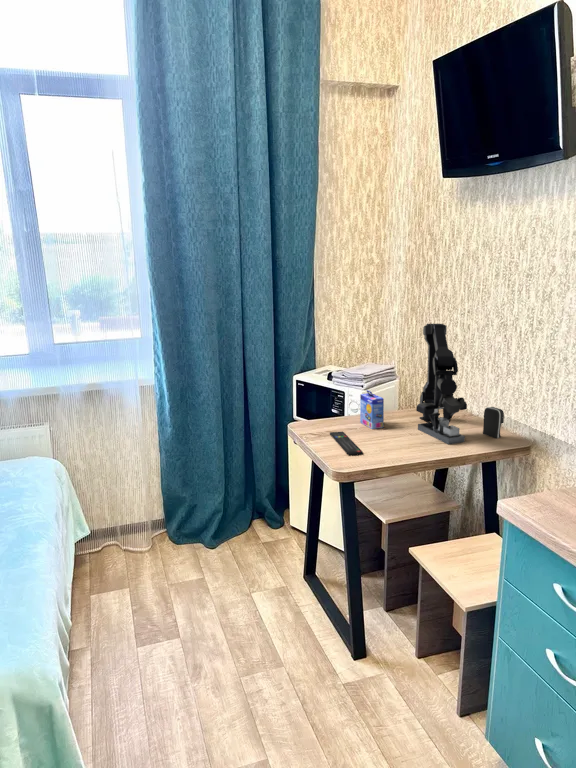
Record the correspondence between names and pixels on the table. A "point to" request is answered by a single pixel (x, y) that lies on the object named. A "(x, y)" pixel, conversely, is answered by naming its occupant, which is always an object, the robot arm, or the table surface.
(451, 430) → the light grey block
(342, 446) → the remote control
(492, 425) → the black zippered case
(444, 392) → the robot arm
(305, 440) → the table surface
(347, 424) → the table surface
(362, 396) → the ink cartridge box
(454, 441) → the dark grey tray
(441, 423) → the grey block
